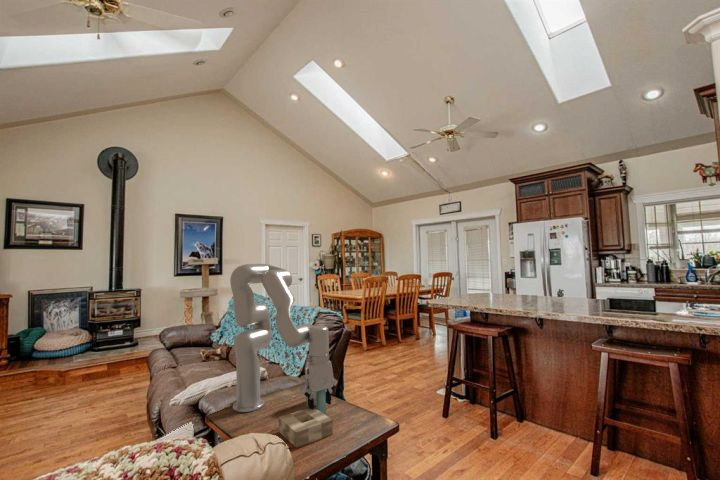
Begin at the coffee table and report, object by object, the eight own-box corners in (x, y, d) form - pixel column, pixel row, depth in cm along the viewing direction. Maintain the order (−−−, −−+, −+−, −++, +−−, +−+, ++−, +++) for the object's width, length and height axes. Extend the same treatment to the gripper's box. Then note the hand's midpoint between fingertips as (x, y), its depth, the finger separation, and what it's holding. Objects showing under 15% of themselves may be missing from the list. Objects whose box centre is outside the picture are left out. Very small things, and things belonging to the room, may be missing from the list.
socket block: (278, 431, 124) (278, 417, 124) (313, 420, 132) (313, 406, 133) (296, 448, 113) (296, 432, 113) (332, 434, 121) (332, 419, 122)
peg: (314, 418, 134) (314, 386, 135) (323, 415, 136) (322, 384, 137) (319, 421, 131) (319, 389, 132) (327, 419, 133) (327, 387, 134)
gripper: (303, 365, 126) (303, 415, 125) (343, 356, 136) (344, 403, 135) (294, 360, 132) (294, 408, 131) (333, 352, 142) (334, 397, 141)
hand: (319, 405), depth 133 cm, fingers open, 6 cm apart
